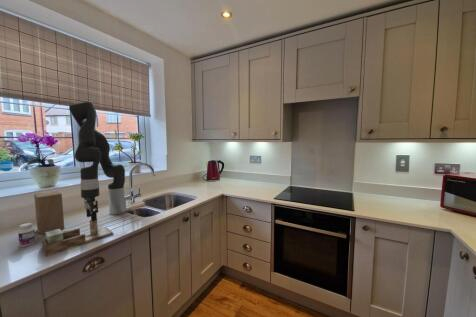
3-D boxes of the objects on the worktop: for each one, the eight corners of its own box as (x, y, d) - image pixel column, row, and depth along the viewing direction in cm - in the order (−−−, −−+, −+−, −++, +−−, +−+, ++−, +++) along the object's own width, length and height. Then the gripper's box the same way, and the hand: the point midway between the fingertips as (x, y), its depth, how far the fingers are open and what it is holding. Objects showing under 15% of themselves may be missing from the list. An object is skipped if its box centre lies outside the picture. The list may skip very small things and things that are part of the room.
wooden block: (60, 223, 120) (58, 190, 119) (64, 228, 114) (61, 193, 112) (37, 229, 113) (34, 194, 111) (39, 234, 106) (36, 197, 105)
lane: (106, 228, 114) (105, 221, 113) (113, 234, 106) (112, 226, 106) (42, 247, 94) (41, 238, 93) (45, 256, 87) (45, 246, 86)
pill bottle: (19, 243, 97) (17, 224, 96) (35, 240, 101) (34, 221, 100) (19, 248, 93) (17, 227, 92) (35, 244, 97) (33, 224, 96)
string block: (95, 230, 108) (94, 217, 107) (100, 234, 104) (99, 221, 103) (46, 244, 93) (45, 230, 93) (48, 250, 89) (47, 234, 88)
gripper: (103, 188, 100) (104, 220, 102) (94, 184, 110) (96, 213, 111) (84, 191, 95) (86, 224, 96) (77, 186, 104) (79, 217, 105)
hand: (91, 218), depth 103 cm, fingers open, 8 cm apart
